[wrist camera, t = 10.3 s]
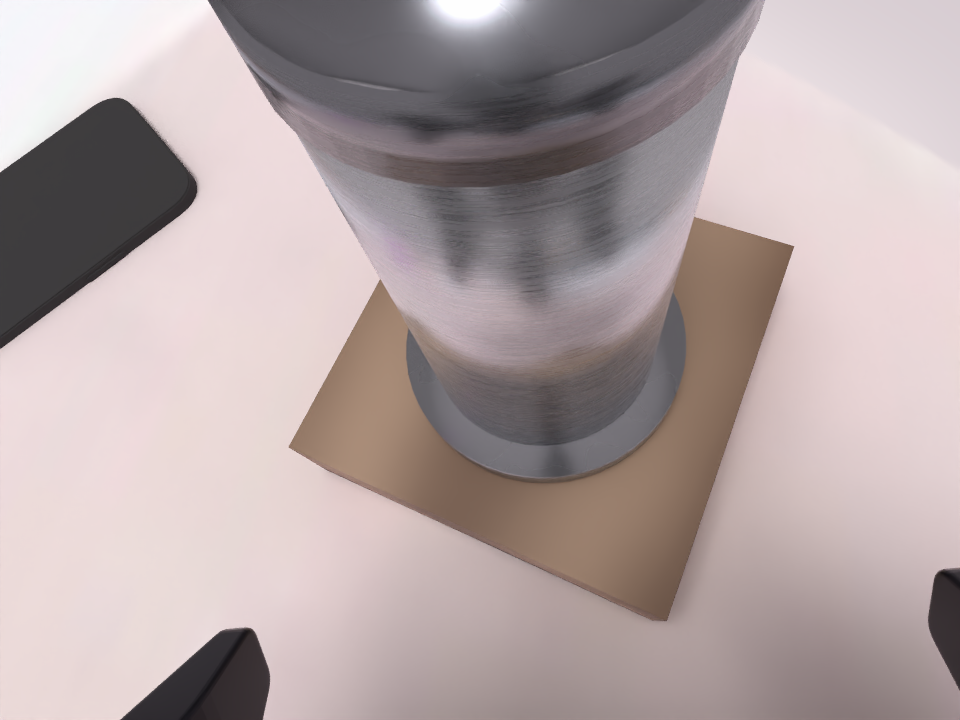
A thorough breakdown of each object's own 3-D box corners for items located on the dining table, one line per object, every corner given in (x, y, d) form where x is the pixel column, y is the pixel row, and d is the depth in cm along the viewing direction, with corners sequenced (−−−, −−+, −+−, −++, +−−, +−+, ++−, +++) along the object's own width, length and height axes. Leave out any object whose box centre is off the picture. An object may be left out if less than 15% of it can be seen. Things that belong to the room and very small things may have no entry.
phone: (-193, 307, 26) (116, 87, 28) (-171, 315, 27) (128, 100, 29) (-136, 440, 24) (201, 186, 26) (-113, 445, 24) (212, 199, 27)
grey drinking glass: (741, 345, 18) (1066, -213, 6) (543, 545, 17) (453, 347, 5) (543, 191, 21) (493, -401, 9) (360, 353, 19) (13, -78, 7)
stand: (765, 293, 22) (794, 246, 19) (652, 620, 19) (666, 621, 16) (466, 199, 25) (452, 146, 22) (325, 469, 21) (288, 447, 19)
